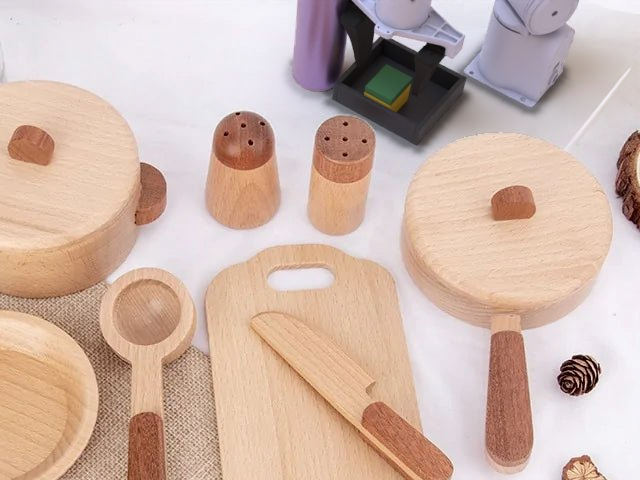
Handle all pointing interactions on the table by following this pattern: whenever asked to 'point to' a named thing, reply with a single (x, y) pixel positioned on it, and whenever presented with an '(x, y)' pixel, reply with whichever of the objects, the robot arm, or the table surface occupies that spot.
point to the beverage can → (319, 43)
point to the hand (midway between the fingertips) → (390, 75)
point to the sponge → (389, 88)
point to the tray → (416, 110)
